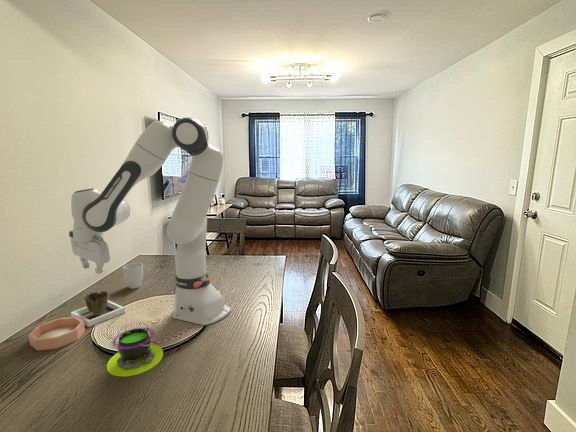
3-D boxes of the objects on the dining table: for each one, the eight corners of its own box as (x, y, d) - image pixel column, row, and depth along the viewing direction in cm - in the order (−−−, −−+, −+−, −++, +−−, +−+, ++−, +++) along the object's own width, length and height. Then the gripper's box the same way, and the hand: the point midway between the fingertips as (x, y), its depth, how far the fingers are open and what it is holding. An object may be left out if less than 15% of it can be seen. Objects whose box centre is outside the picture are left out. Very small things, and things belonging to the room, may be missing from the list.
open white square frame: (124, 312, 120) (124, 307, 120) (88, 327, 109) (88, 322, 109) (107, 303, 127) (106, 299, 127) (71, 317, 116) (70, 312, 116)
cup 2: (83, 320, 114) (81, 300, 112) (90, 311, 121) (88, 292, 119) (106, 318, 116) (104, 297, 114) (112, 309, 123) (110, 289, 121)
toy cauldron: (171, 359, 92) (169, 325, 90) (116, 385, 82) (111, 346, 80) (151, 339, 103) (149, 307, 101) (100, 359, 92) (96, 324, 90)
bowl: (91, 334, 105) (89, 324, 105) (42, 354, 94) (41, 344, 93) (72, 322, 113) (70, 313, 112) (25, 340, 101) (23, 330, 101)
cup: (148, 283, 148) (146, 263, 147) (138, 290, 140) (136, 269, 139) (131, 282, 149) (130, 262, 147) (121, 289, 141) (119, 268, 139)
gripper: (113, 236, 110) (116, 273, 112) (84, 228, 121) (88, 263, 123) (94, 240, 105) (98, 279, 107) (66, 231, 116) (70, 267, 118)
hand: (92, 270), depth 115 cm, fingers open, 8 cm apart
